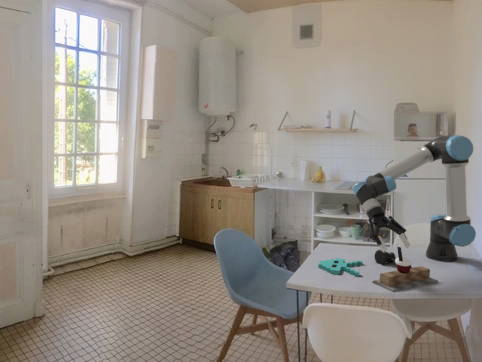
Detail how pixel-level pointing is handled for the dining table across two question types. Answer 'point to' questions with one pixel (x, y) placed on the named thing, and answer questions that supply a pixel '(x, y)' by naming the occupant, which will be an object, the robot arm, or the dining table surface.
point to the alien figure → (339, 266)
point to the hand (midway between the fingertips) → (397, 248)
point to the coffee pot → (384, 257)
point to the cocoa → (402, 263)
